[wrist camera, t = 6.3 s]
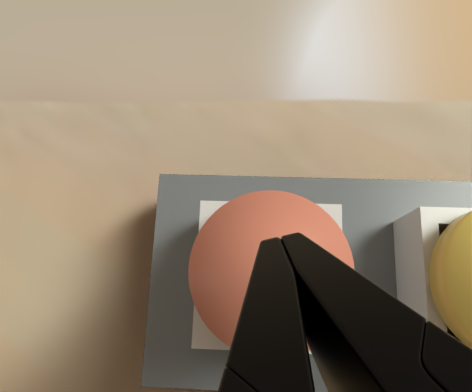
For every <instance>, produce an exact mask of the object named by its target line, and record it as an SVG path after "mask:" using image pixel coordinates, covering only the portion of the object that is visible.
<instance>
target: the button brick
mask: <svg viewBox="0 0 472 392" xmlns="http://www.w3.org/2000/svg"><path fill="white" fill-rule="evenodd" d="M296 232H299V233H302V234H303V235H305V236H306V237H308V238H309V239H311V240H312V241H314V242H315V243H317V244H318V245H319V246H321V247H322V248H324V249H325V250H327V251H328V252H330V253H331V254H333V255H334V256H335V257H337V258H338V259H340V260H341V261H343V262H344V263H346V264H347V265H349V266H350V267H352V268H353V269H354V261H353V256H352V252H351V249H350V246H349V244H348V241H347V239H346V237H345V235H344V233H343V231H342V230H341V229H340V227H339V226H338V224H337V223H336V222H335V221H334V219H333V218H332V217H331V216H330V215H329V214H328V213H327V212H326V211H324V210H323V209H322V208H321V207H319V206H318V205H316V204H315V203H313V202H312V201H310V200H308V199H306V198H304V197H302V196H299V195H296V194H293V193H289V192H284V191H275V190H266V191H257V192H251V193H248V194H244V195H241V196H239V197H237V198H235V199H232V200H231V201H229V202H227V203H226V204H224V205H223V206H221V207H220V208H219V209H218V210H216V211H215V212H214V213H213V214H212V215H211V216H210V217H209V218H208V220H207V221H206V222H205V224H204V225H203V226H202V228H201V230H200V231H199V233H198V235H197V237H196V239H195V242H194V244H193V247H192V251H191V254H190V260H189V267H188V279H189V287H190V292H191V296H192V300H193V302H194V305H195V307H196V310H197V312H198V313H199V315H200V317H201V319H202V320H203V322H204V323H205V324H206V326H207V327H208V328H209V330H210V331H211V332H212V333H213V334H214V335H215V336H216V337H217V338H218V339H220V340H221V341H222V342H224V343H225V344H226V345H228V346H231V343H232V339H233V336H234V332H235V329H236V325H237V322H238V318H239V315H240V311H241V308H242V304H243V301H244V297H245V294H246V290H247V287H248V283H249V279H250V276H251V272H252V269H253V265H254V262H255V258H256V255H257V251H258V248H259V244H260V242H261V241H262V240H266V239H270V238H274V237H279V238H280V239H281V237H282V236H283V235H288V234H292V233H296ZM354 270H355V269H354ZM307 345H308V343H307ZM309 350H310V348H309V346H308V351H309Z"/></svg>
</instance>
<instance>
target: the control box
mask: <svg viewBox="0 0 472 392" xmlns="http://www.w3.org/2000/svg"><path fill="white" fill-rule="evenodd" d="M266 190H275V191H284V192H289V193H293V194H296V195H299V196H302V197H304V198H306V199H308V200H310V201H312V202H313V203H315V204H316V205H318V206H319V207H321V208H322V209H323V210H324V211H326V212H327V213H328V214H329V215H330V216H331V217H332V218H333V219H334V221H335V222H336V223H337V224H338V226H339V227H340V229H341V230H342V231H343V233H344V235H345V237H346V239H347V241H348V244H349V246H350V249H351V252H352V256H353V261H354V269H355V270H356V271H357V272H359V273H360V274H362V275H363V276H365V277H366V278H368V279H369V280H371V281H372V282H373V283H375V284H376V285H378V286H379V287H381V288H382V289H384V290H385V291H387V292H388V293H389V294H391V295H392V296H394V297H395V298H397V299H398V300H400V301H401V302H403V303H404V304H406V305H407V306H408V307H410V308H411V309H413V310H414V311H416V312H417V313H419V314H420V315H422V316H423V317H425V318H426V322H427V321H431V322H432V323H434V324H435V325H437V326H438V327H439V328H441V329H442V330H444V331H445V332H447V333H448V334H450V335H451V336H453V337H454V338H456V339H457V340H459V339H458V338H457V337H456V336H455V335H454V334H453V332H452V331H451V330H450V329H449V328H448V326H447V325H446V324H445V322H444V321H443V319H442V318H441V316H440V314H439V312H438V310H437V308H436V306H435V303H434V301H433V297H432V294H431V290H430V283H429V264H430V258H431V254H432V251H433V248H434V246H435V244H436V241H437V240H438V238H439V237H440V235H441V233H442V232H443V231H444V230H445V229H446V227H447V226H448V225H450V224H451V223H452V222H453V221H454V220H456V219H457V218H459V217H460V216H462V215H464V214H466V213H468V212H470V211H472V182H467V181H426V180H384V179H343V178H302V177H260V176H219V175H177V174H160V175H159V186H158V198H157V209H156V220H155V231H154V243H153V254H152V265H151V276H150V288H149V299H148V310H147V321H146V333H145V344H144V355H143V366H142V378H141V387H157V388H176V389H195V390H213V391H218V388H219V384H220V381H221V377H222V374H223V370H224V369H225V368H226V367H225V364H226V361H227V357H228V353H229V350H230V346H228V345H226V344H225V343H224V342H222V341H221V340H220V339H218V338H217V337H216V336H215V335H214V334H213V333H212V332H211V331H210V330H209V328H208V327H207V326H206V324H205V323H204V322H203V320H202V319H201V317H200V315H199V313H198V312H197V310H196V307H195V305H194V302H193V300H192V296H191V292H190V287H189V279H188V267H189V260H190V254H191V251H192V247H193V244H194V242H195V239H196V237H197V235H198V233H199V231H200V230H201V228H202V226H203V225H204V224H205V222H206V221H207V220H208V218H209V217H210V216H211V215H212V214H213V213H214V212H215V211H216V210H218V209H219V208H220V207H221V206H223V205H224V204H226V203H227V202H229V201H231V200H232V199H235V198H237V197H239V196H241V195H244V194H248V193H251V192H257V191H266ZM459 341H461V340H459ZM461 342H462V341H461ZM462 343H463V342H462ZM309 357H310V363H311V369H312V375H313V381H314V387H315V392H328V390H327V388H326V386H325V383H324V381H323V379H322V376H321V374H320V372H319V369H318V367H317V365H316V362H315V360H314V358H313V356H312V353H311V351H310V350H309Z"/></svg>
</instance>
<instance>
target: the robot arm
mask: <svg viewBox="0 0 472 392" xmlns="http://www.w3.org/2000/svg"><path fill="white" fill-rule="evenodd" d="M307 343H308V345H307ZM308 346H309V348H310V351H311V353H312V356H313V358H314V360H315V362H316V365H317V367H318V369H319V372H320V374H321V376H322V379H323V381H324V383H325V386H326V388H327V390H328V392H472V349H471V348H470V347H468V346H467V345H465V344H464V343H462V342H461V341H459V340H457V339H456V338H454V337H453V336H451V335H450V334H448V333H447V332H445V331H444V330H442V329H441V328H439V327H438V326H437V325H435V324H434V323H432V322H431V321H427V322H426V318H425V317H423V316H422V315H420V314H419V313H417V312H416V311H414V310H413V309H411V308H410V307H408V306H407V305H406V304H404V303H403V302H401V301H400V300H398V299H397V298H395V297H394V296H392V295H391V294H389V293H388V292H387V291H385V290H384V289H382V288H381V287H379V286H378V285H376V284H375V283H373V282H372V281H371V280H369V279H368V278H366V277H365V276H363V275H362V274H360V273H359V272H357V271H356V270H354V269H353V268H352V267H350V266H349V265H347V264H346V263H344V262H343V261H341V260H340V259H338V258H337V257H335V256H334V255H333V254H331V253H330V252H328V251H327V250H325V249H324V248H322V247H321V246H319V245H318V244H317V243H315V242H314V241H312V240H311V239H309V238H308V237H306V236H305V235H303V234H302V233H299V232H296V233H292V234H288V235H283V236H282V237H281V239H280V238H279V237H274V238H270V239H266V240H262V241H261V242H260V244H259V248H258V251H257V255H256V258H255V262H254V265H253V269H252V272H251V276H250V279H249V283H248V287H247V290H246V294H245V297H244V301H243V304H242V308H241V311H240V315H239V318H238V322H237V325H236V329H235V332H234V336H233V339H232V343H231V346H230V350H229V353H228V357H227V361H226V364H225V367H226V368H225V369H224V370H223V374H222V377H221V381H220V384H219V388H218V391H217V392H315V387H314V381H313V375H312V369H311V363H310V357H309V351H308Z"/></svg>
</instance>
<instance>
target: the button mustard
mask: <svg viewBox="0 0 472 392" xmlns="http://www.w3.org/2000/svg"><path fill="white" fill-rule="evenodd" d="M429 283H430V290H431V294H432V297H433V301H434V303H435V306H436V308H437V310H438V312H439V314H440V316H441V318H442V319H443V321H444V322H445V324H446V325H447V326H448V328H449V329H450V330H451V331H452V332H453V334H454V335H455V336H456V337H457V338H458V339H459V340H461V341H462V342H463V343H464V344H465V345H467V346H468V347H470V348H471V349H472V211H470V212H468V213H466V214H464V215H462V216H460V217H459V218H457V219H456V220H454V221H453V222H452V223H451V224H450V225H448V226H447V227H446V229H445V230H444V231H443V232H442V233H441V235H440V237H439V238H438V240H437V241H436V244H435V246H434V248H433V251H432V254H431V258H430V264H429Z"/></svg>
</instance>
